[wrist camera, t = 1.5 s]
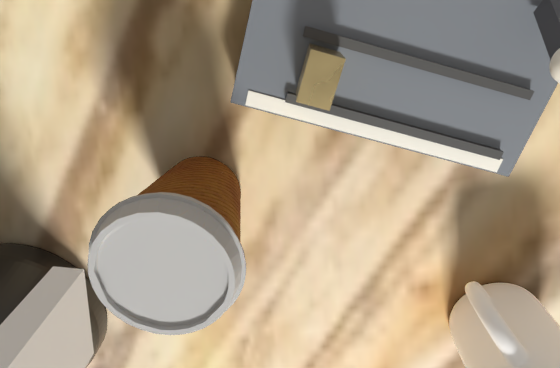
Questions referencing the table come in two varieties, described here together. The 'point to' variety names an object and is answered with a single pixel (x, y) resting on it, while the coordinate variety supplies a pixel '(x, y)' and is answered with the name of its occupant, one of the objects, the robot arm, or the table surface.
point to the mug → (504, 328)
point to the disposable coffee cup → (172, 250)
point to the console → (408, 72)
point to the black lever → (550, 32)
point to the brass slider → (319, 77)
